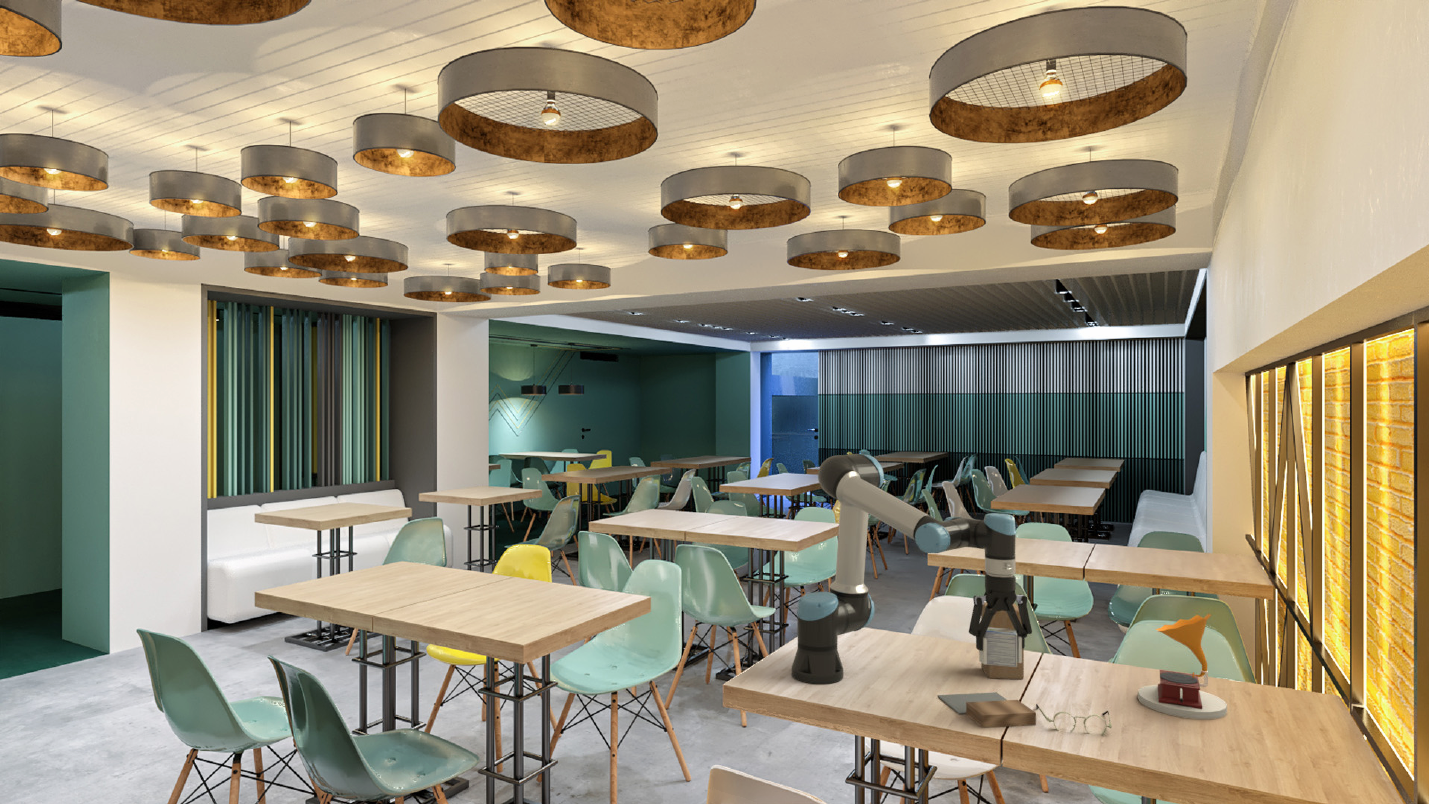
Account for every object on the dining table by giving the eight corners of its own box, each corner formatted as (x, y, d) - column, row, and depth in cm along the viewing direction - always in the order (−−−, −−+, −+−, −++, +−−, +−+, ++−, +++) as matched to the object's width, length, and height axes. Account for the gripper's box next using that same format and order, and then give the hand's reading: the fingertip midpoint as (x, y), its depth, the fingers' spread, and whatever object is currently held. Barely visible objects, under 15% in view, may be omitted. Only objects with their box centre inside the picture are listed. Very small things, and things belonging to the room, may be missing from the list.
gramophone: (1223, 699, 218) (1223, 607, 218) (1230, 725, 200) (1230, 624, 200) (1138, 687, 228) (1138, 598, 228) (1137, 710, 210) (1137, 614, 210)
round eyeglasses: (1042, 731, 197) (1042, 710, 197) (1034, 709, 212) (1034, 689, 212) (1118, 738, 193) (1118, 717, 193) (1105, 715, 207) (1105, 696, 207)
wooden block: (1014, 668, 243) (1014, 602, 243) (1024, 679, 233) (1024, 610, 234) (980, 667, 244) (980, 601, 244) (988, 678, 234) (988, 609, 235)
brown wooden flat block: (982, 727, 198) (982, 715, 198) (966, 714, 207) (966, 702, 207) (1035, 724, 200) (1035, 712, 200) (1017, 711, 209) (1017, 699, 209)
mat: (958, 714, 206) (958, 712, 206) (937, 696, 219) (937, 695, 219) (1020, 711, 209) (1021, 709, 209) (996, 693, 222) (996, 692, 222)
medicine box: (1016, 663, 208) (1016, 629, 208) (1017, 668, 204) (1017, 633, 204) (984, 659, 211) (984, 626, 211) (984, 664, 207) (984, 631, 207)
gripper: (967, 578, 203) (967, 668, 202) (1047, 576, 206) (1047, 664, 205) (954, 572, 210) (954, 659, 210) (1031, 570, 213) (1031, 656, 213)
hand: (1000, 662), depth 207 cm, fingers closed on medicine box, 9 cm apart
